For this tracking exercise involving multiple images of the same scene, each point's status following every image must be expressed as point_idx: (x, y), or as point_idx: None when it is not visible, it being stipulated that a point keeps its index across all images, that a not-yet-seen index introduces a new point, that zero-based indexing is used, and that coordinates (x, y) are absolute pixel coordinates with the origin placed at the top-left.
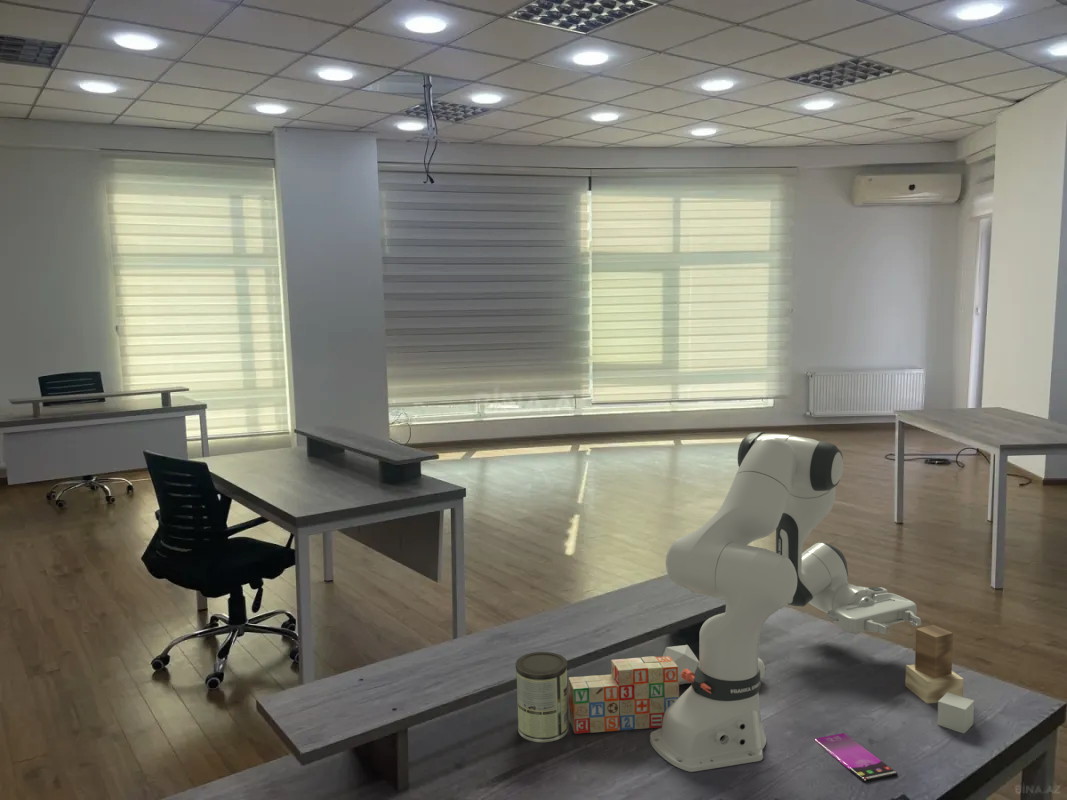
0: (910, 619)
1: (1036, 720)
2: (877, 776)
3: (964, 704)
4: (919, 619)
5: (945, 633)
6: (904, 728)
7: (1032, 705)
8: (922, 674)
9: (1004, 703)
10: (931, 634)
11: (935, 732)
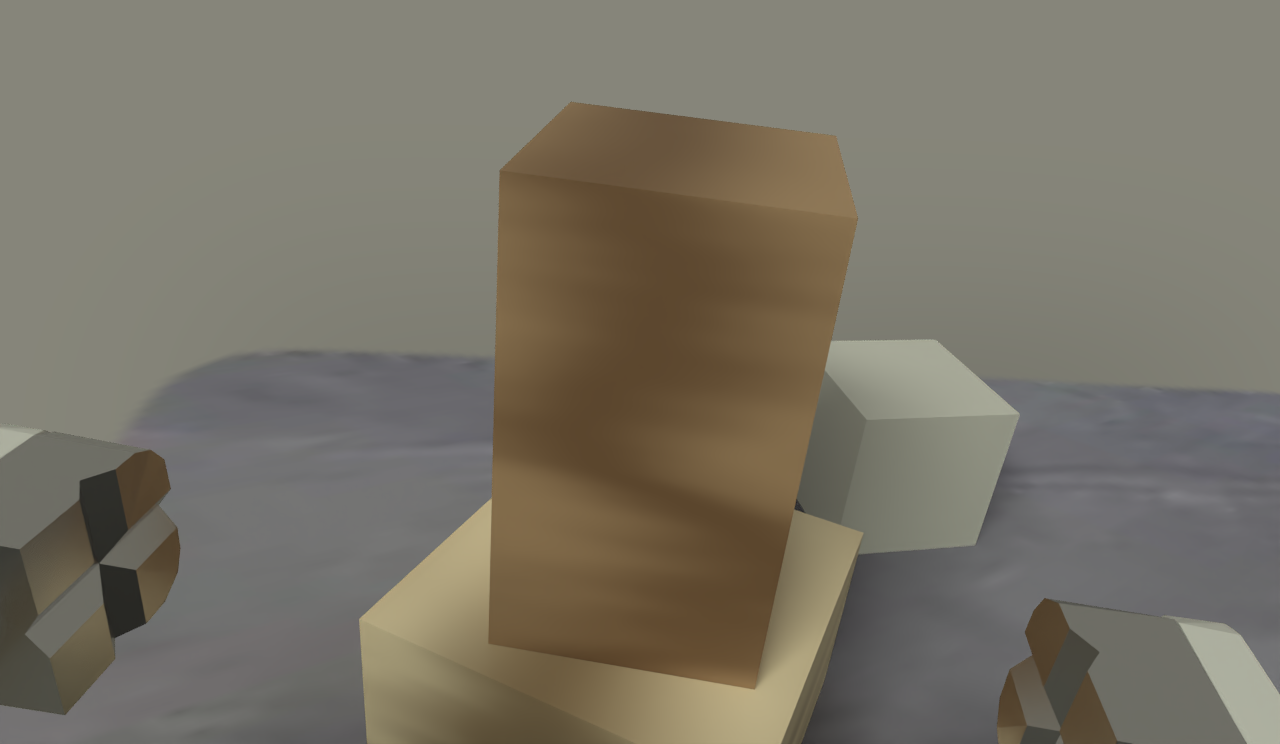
0: (43, 597)
1: (477, 359)
2: None
3: (893, 350)
4: (58, 434)
5: (649, 119)
6: (1220, 618)
7: (314, 391)
8: (789, 602)
9: (395, 452)
10: (814, 153)
11: (1047, 522)
